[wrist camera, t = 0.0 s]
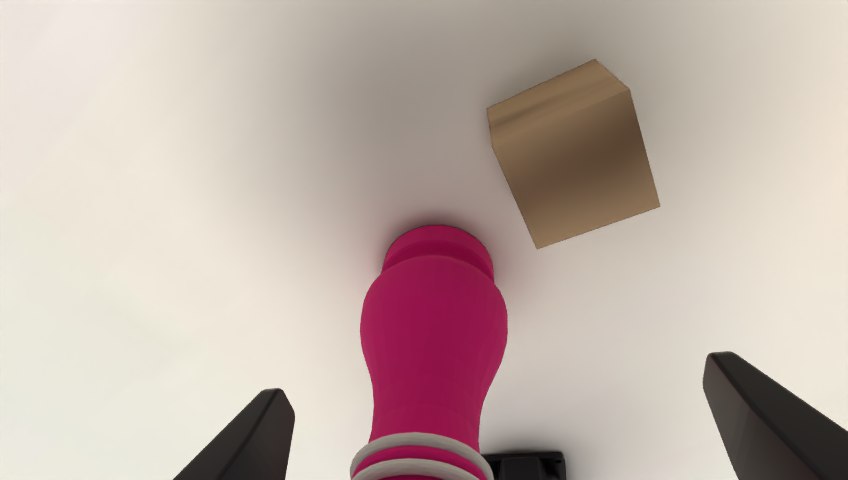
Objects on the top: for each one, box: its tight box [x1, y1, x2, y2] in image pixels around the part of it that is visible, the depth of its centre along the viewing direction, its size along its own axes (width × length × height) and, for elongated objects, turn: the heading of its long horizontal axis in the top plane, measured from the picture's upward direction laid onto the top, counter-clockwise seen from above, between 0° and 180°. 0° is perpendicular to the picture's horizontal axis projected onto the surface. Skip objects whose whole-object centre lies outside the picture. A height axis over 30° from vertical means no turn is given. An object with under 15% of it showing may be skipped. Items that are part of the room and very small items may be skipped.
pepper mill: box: [350, 225, 508, 480], centre depth 18 cm, size 7×7×20 cm
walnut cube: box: [487, 59, 660, 249], centre depth 20 cm, size 5×5×5 cm
